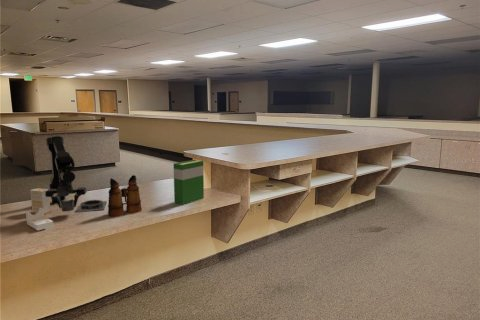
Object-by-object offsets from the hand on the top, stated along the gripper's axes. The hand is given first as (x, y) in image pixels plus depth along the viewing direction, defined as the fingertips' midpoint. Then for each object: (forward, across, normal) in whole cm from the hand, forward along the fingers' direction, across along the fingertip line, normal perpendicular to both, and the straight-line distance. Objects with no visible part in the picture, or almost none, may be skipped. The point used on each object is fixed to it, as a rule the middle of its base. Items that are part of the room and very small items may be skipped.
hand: (67, 207), depth 179 cm
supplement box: (+5, -15, +8) cm, 18 cm away
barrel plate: (+4, +10, +12) cm, 16 cm away
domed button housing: (+1, 0, 0) cm, 1 cm away
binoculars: (+5, +29, -2) cm, 29 cm away
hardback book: (+5, +66, +13) cm, 67 cm away
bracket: (+5, -10, -14) cm, 18 cm away
